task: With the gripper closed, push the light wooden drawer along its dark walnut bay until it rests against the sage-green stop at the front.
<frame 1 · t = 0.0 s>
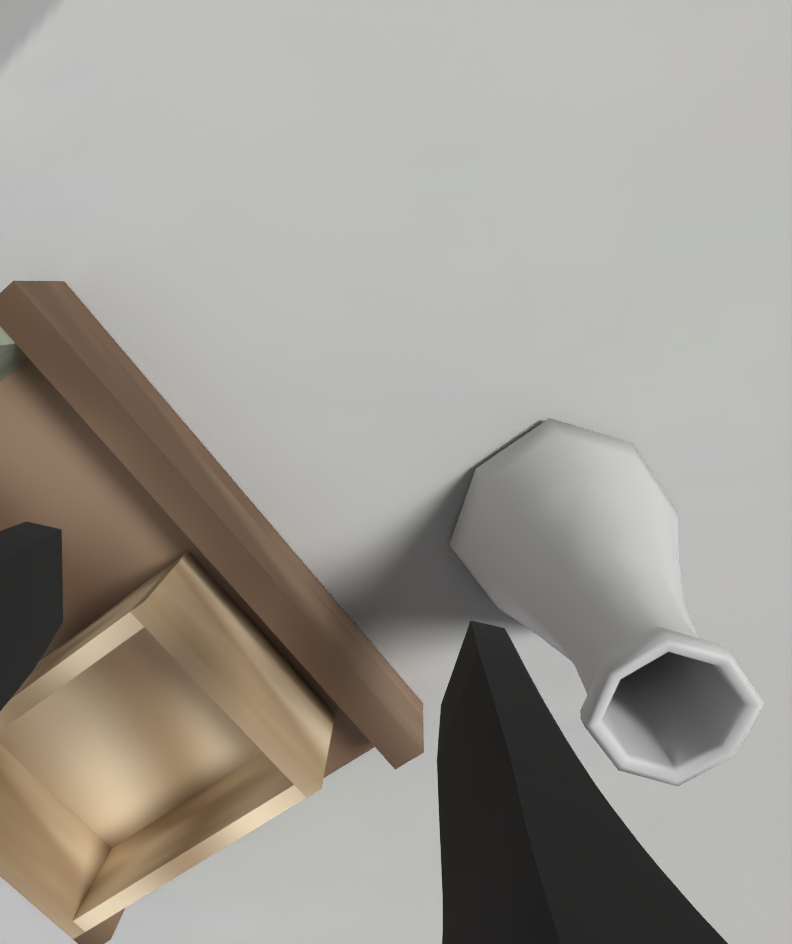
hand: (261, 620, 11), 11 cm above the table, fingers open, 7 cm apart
flask: (558, 522, 22), on the table
light wooden drawer: (129, 747, 22), point 3 cm above the table, slide at 0.0 cm
bay: (95, 632, 23), on the table
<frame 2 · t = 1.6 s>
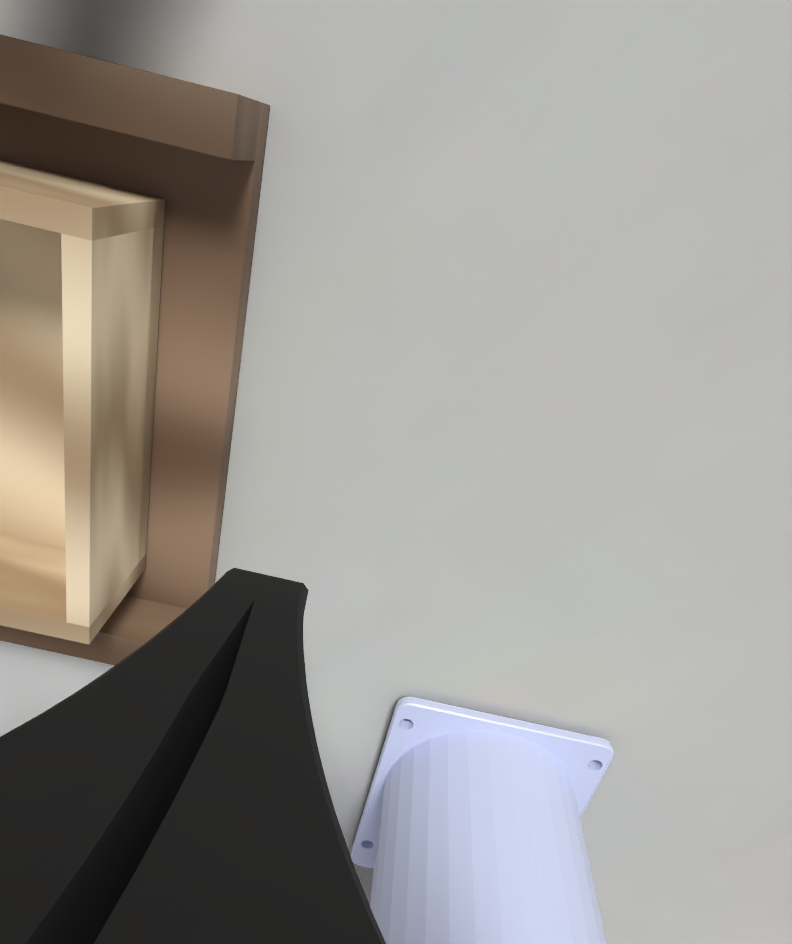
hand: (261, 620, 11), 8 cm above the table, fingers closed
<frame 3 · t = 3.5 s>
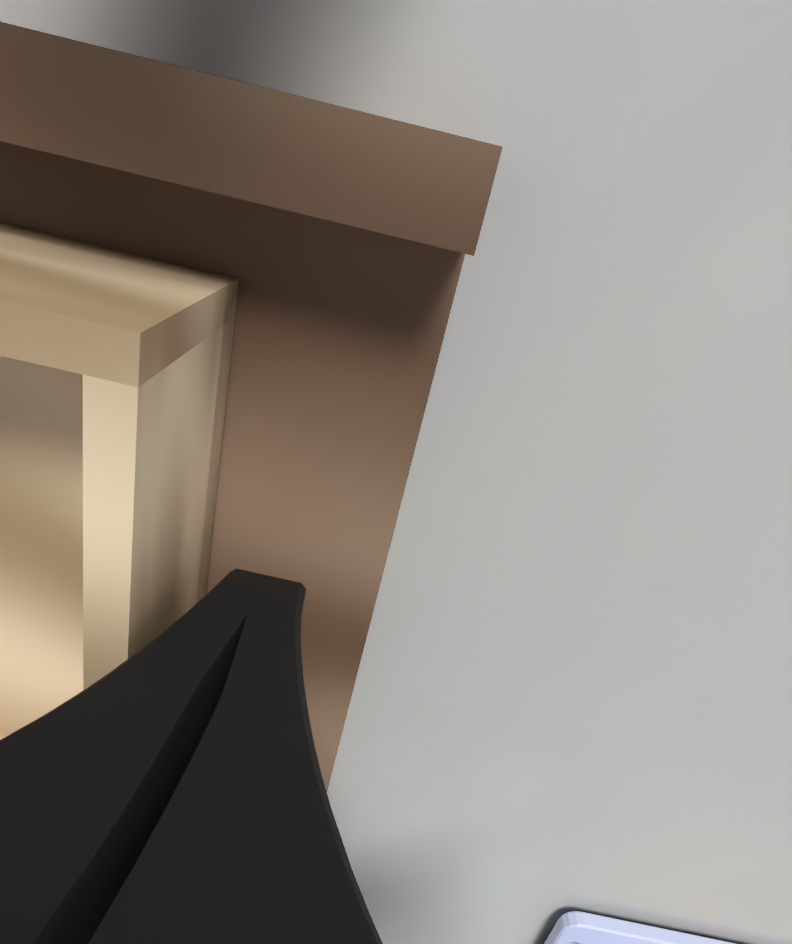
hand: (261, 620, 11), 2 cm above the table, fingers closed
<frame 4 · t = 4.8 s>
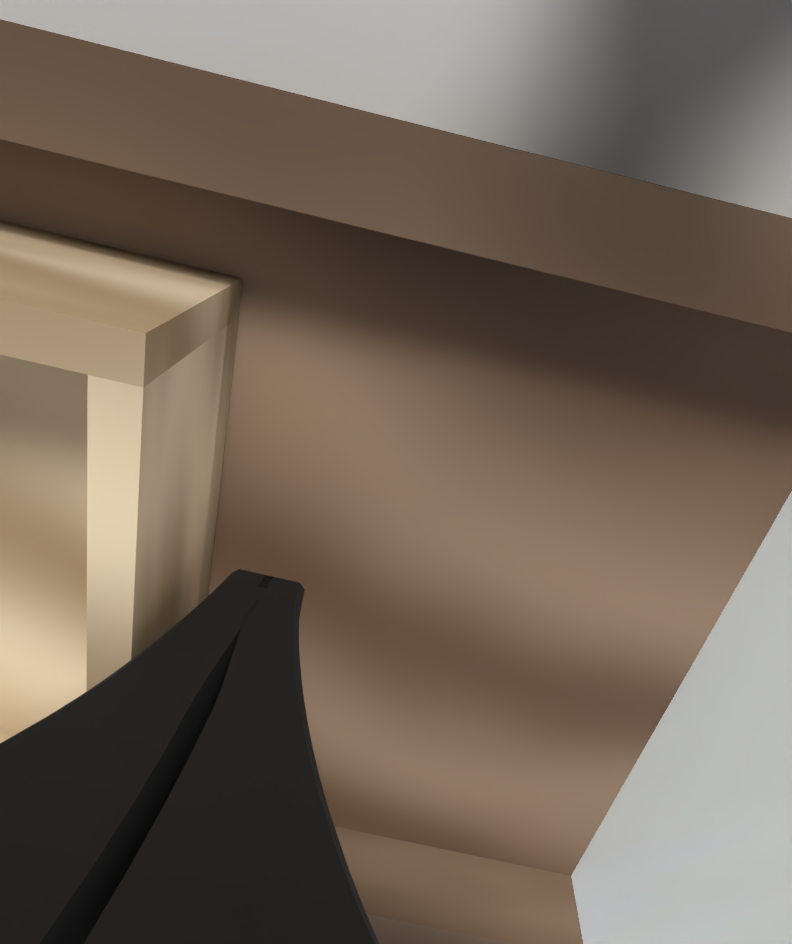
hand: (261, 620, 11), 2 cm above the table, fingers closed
bay: (226, 544, 13), on the table
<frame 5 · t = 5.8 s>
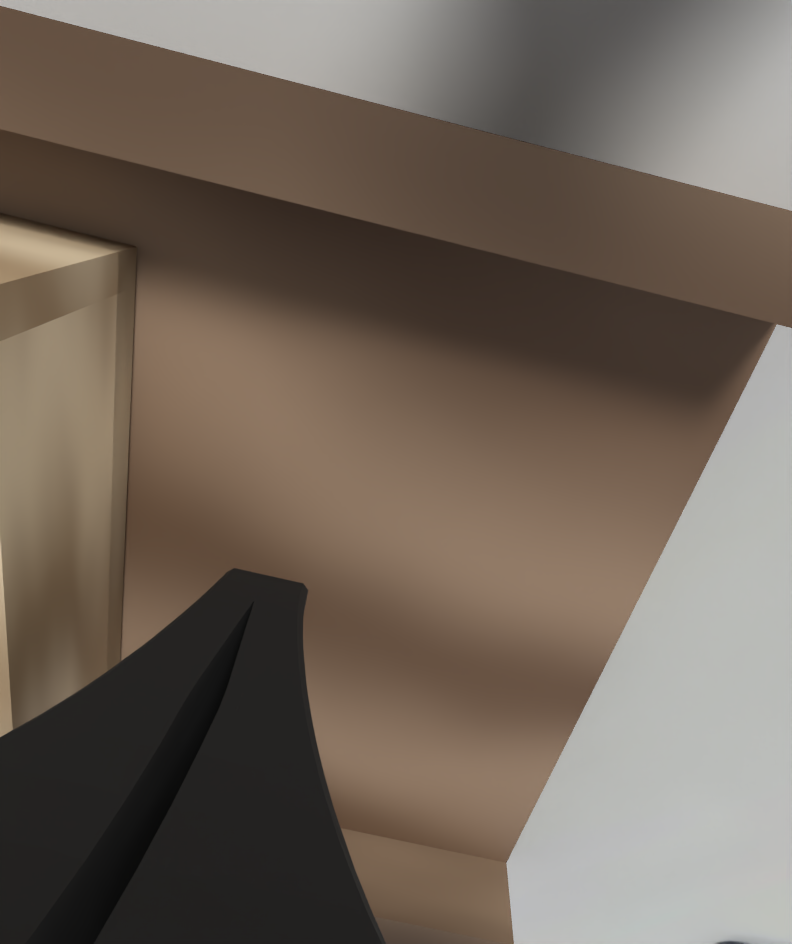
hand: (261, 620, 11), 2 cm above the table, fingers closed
bay: (145, 523, 13), on the table
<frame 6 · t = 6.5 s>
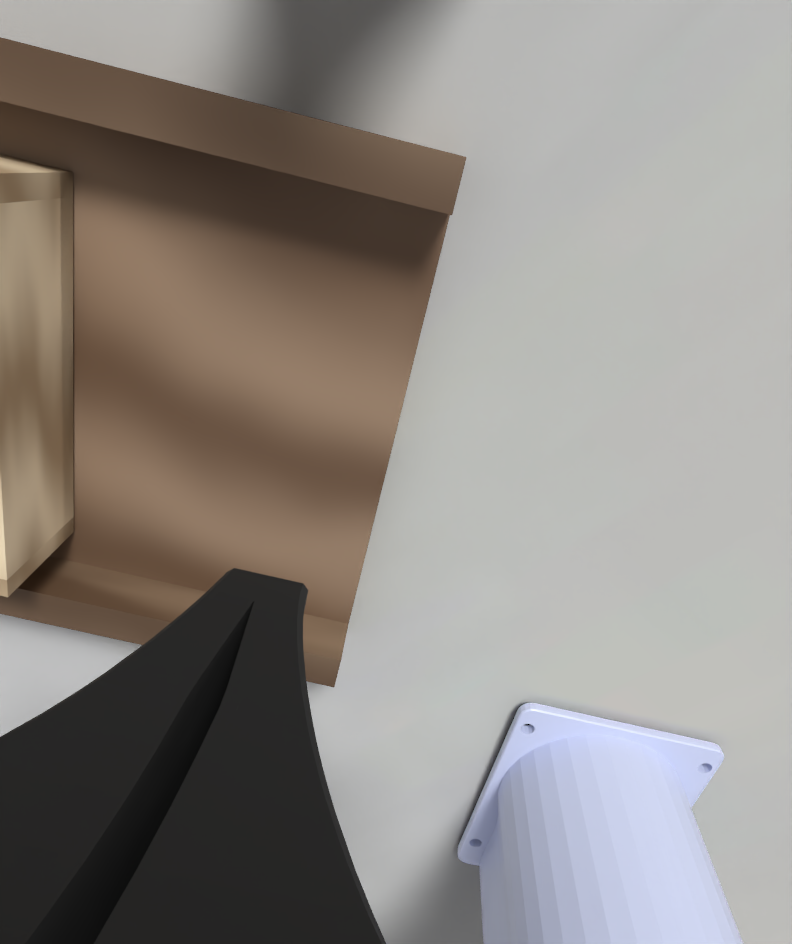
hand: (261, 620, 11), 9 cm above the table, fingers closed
bay: (89, 366, 19), on the table
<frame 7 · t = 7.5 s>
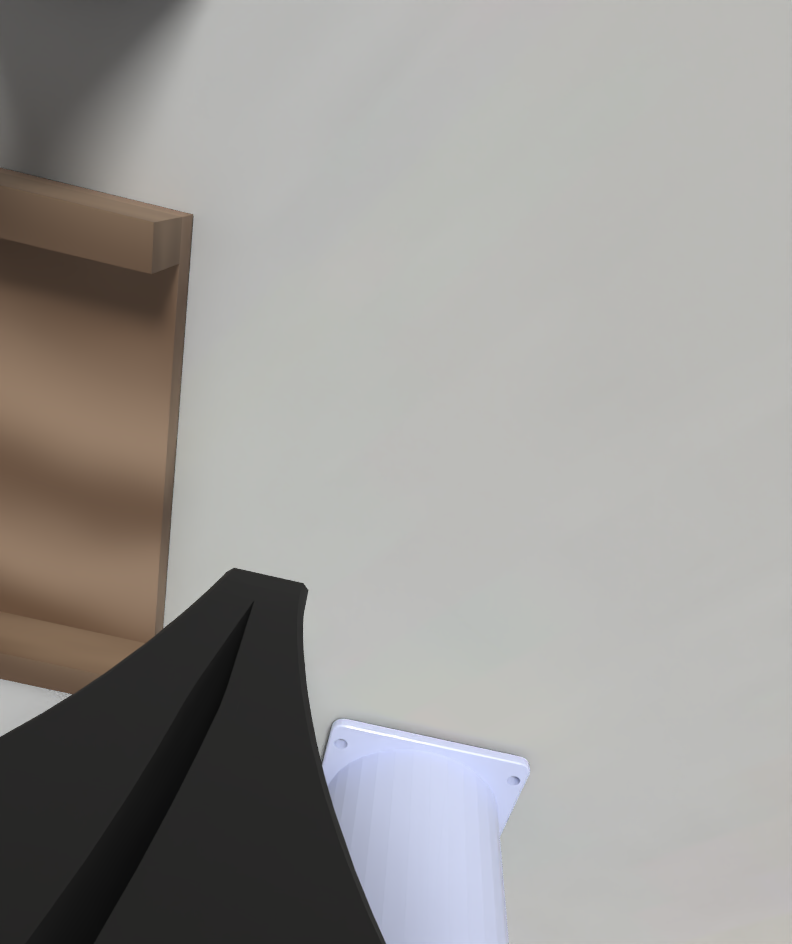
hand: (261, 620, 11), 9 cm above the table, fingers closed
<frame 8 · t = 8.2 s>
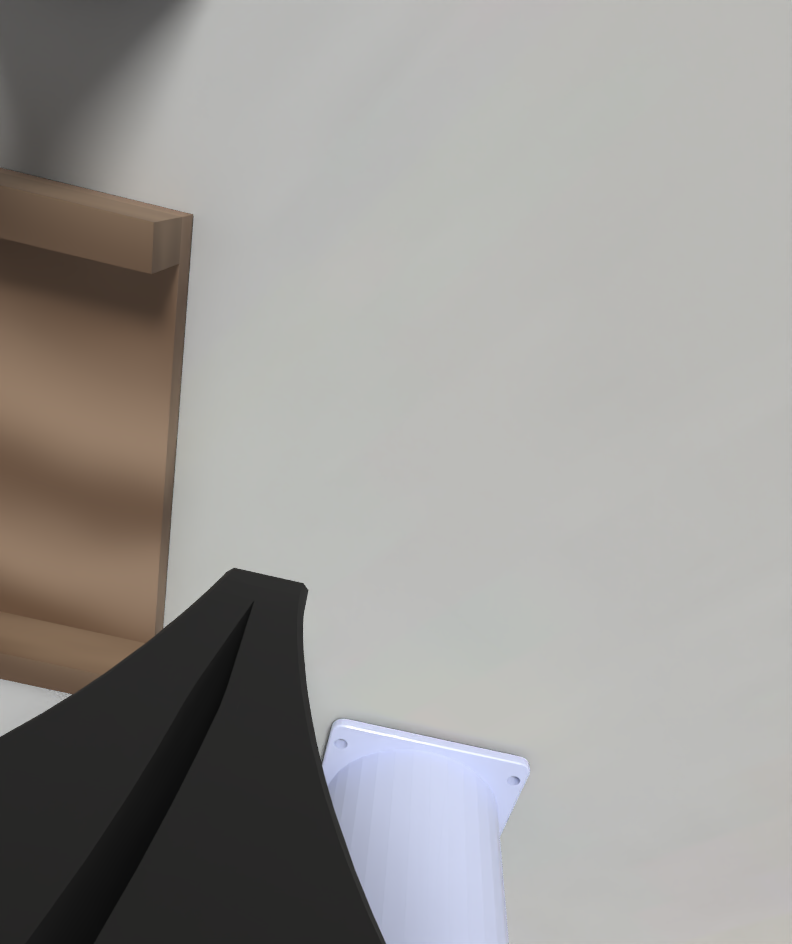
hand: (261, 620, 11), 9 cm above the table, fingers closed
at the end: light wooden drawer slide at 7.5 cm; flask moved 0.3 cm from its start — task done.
